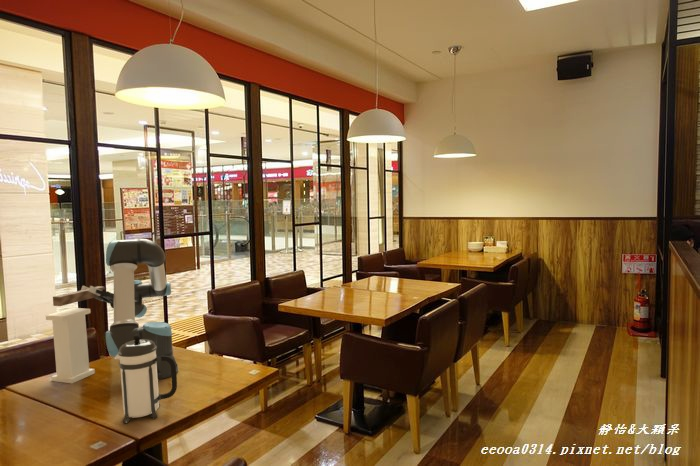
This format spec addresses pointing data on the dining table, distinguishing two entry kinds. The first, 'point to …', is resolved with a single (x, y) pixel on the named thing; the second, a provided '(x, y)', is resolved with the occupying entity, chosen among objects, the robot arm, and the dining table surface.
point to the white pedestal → (70, 345)
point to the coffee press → (142, 378)
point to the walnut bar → (74, 297)
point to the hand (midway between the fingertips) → (86, 288)
